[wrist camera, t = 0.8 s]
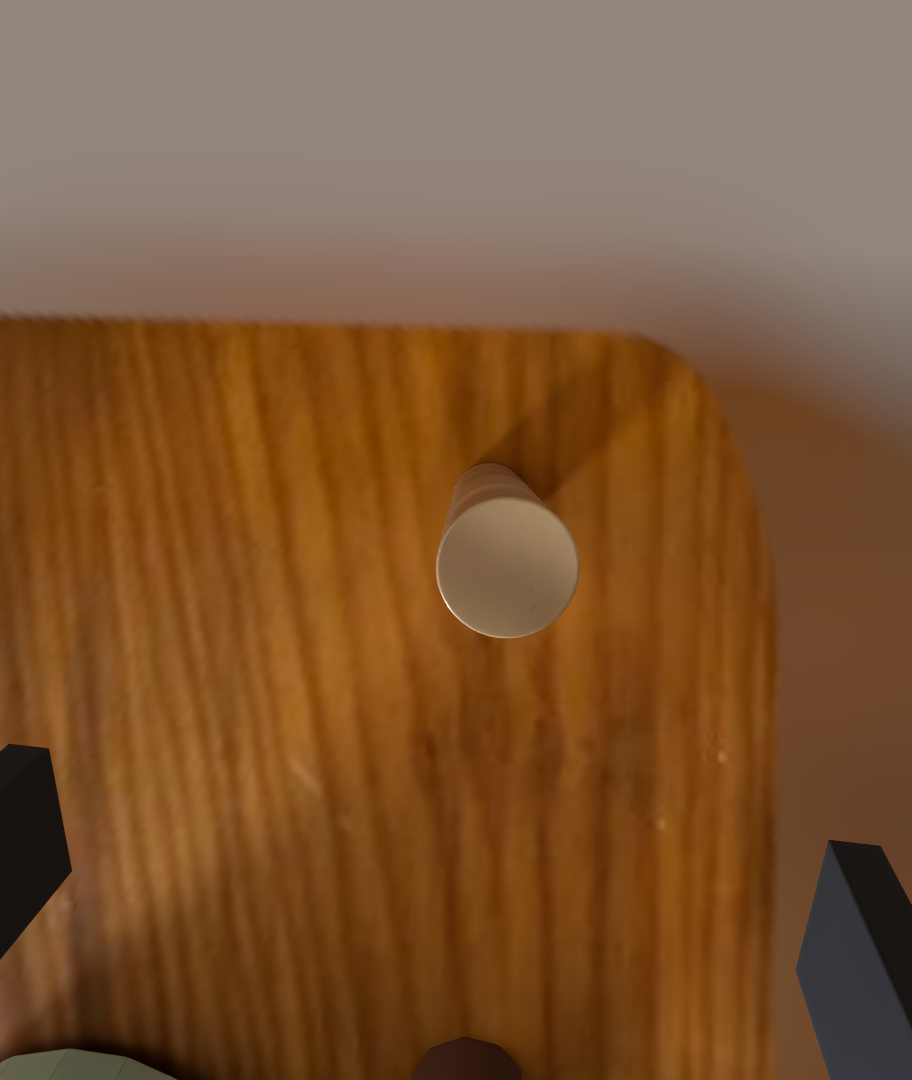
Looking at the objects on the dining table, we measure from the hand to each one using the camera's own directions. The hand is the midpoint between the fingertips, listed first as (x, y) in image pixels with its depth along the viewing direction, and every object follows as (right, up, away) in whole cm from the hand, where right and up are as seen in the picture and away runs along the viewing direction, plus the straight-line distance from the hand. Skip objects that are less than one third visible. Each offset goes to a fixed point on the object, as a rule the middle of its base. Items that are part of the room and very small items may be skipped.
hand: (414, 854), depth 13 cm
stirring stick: (+2, +7, +20) cm, 21 cm away
